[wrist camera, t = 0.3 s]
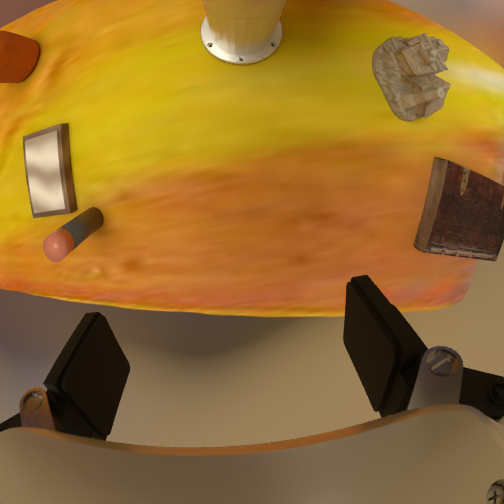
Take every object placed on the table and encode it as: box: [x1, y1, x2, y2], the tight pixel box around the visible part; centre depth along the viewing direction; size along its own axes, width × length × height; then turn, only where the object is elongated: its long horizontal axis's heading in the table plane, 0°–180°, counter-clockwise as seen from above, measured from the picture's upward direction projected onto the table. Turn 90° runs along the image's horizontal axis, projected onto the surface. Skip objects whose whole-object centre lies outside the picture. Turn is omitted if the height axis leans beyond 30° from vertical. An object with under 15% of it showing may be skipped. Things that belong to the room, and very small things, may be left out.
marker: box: [43, 207, 103, 262], centre depth 37 cm, size 4×4×14 cm
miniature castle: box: [372, 33, 450, 122], centre depth 30 cm, size 16×16×15 cm
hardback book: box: [414, 157, 504, 261], centre depth 46 cm, size 29×19×5 cm, turn 83°
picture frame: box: [23, 123, 77, 218], centre depth 38 cm, size 16×10×3 cm, turn 1°
